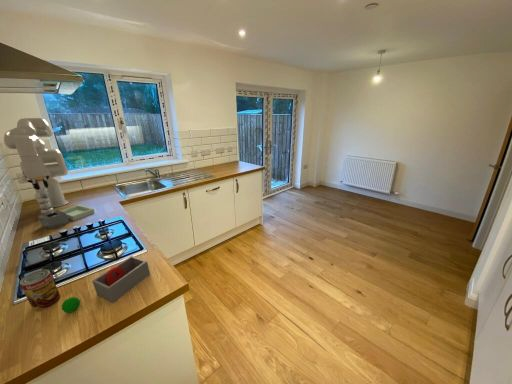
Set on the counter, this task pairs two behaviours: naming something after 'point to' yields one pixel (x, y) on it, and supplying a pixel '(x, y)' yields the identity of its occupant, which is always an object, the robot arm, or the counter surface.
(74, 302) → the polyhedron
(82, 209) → the tray
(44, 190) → the hitch pin
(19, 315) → the counter surface
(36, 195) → the plastic bottle
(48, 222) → the hitch block
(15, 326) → the counter surface
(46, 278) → the canned food
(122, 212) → the counter surface
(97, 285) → the grey open box
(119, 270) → the red rounded piece
